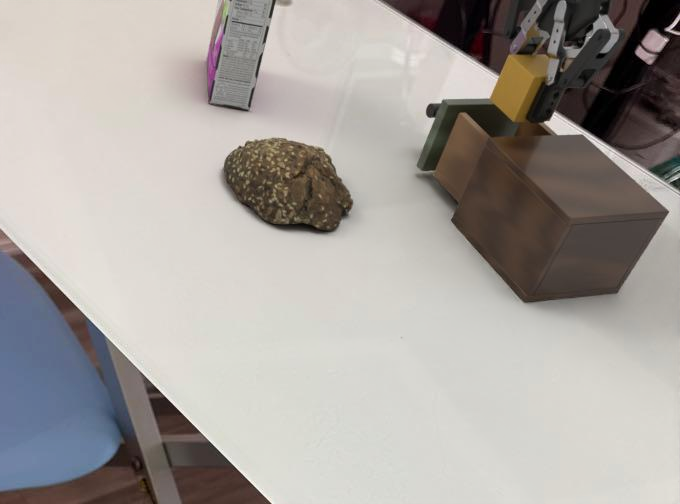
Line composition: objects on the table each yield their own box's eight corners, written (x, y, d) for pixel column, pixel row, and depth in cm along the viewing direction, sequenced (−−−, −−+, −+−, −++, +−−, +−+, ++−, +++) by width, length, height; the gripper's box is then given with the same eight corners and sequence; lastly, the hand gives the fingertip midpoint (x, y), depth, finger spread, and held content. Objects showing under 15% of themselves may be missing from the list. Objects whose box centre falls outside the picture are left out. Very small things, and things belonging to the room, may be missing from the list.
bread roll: (210, 161, 99) (221, 113, 95) (321, 161, 102) (336, 115, 99) (252, 234, 91) (266, 186, 87) (370, 233, 95) (388, 186, 91)
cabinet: (450, 220, 99) (488, 137, 92) (540, 214, 103) (582, 133, 96) (524, 302, 91) (571, 218, 84) (618, 293, 95) (670, 211, 88)
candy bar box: (203, 59, 113) (236, -101, 101) (245, 66, 114) (283, -92, 102) (205, 105, 106) (240, -61, 94) (250, 112, 107) (291, -52, 94)
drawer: (396, 143, 106) (421, 77, 100) (473, 141, 109) (501, 77, 104) (477, 233, 96) (510, 165, 91) (559, 227, 100) (595, 162, 94)
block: (488, 99, 96) (508, 54, 93) (524, 98, 97) (545, 54, 94) (513, 122, 94) (534, 76, 90) (549, 121, 95) (572, 76, 92)
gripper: (529, -124, 85) (451, 72, 98) (630, -56, 77) (530, 148, 90) (596, -119, 88) (511, 72, 101) (700, -53, 80) (594, 145, 93)
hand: (521, 107), depth 95 cm, fingers closed on block, 4 cm apart
